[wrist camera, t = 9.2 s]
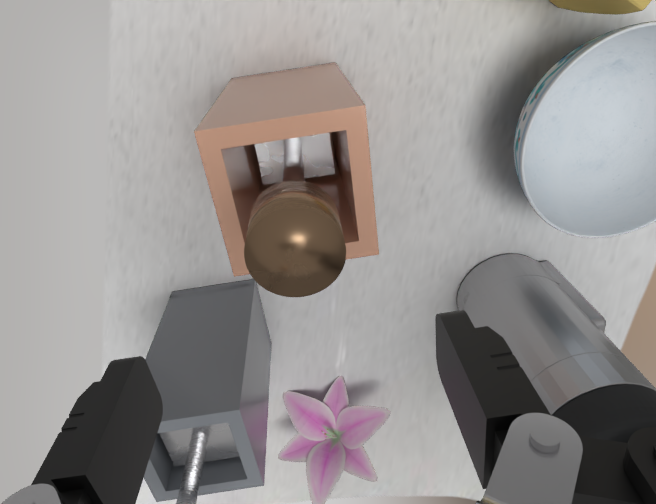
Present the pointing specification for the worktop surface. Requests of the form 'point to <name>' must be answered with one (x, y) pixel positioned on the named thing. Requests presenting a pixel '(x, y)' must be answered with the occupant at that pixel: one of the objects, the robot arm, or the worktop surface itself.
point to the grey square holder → (212, 383)
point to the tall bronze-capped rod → (197, 454)
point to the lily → (331, 438)
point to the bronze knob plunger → (294, 219)
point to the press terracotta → (284, 123)
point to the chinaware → (593, 137)
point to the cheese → (602, 6)
